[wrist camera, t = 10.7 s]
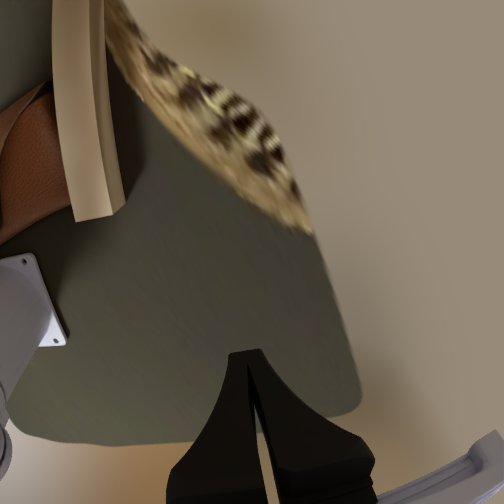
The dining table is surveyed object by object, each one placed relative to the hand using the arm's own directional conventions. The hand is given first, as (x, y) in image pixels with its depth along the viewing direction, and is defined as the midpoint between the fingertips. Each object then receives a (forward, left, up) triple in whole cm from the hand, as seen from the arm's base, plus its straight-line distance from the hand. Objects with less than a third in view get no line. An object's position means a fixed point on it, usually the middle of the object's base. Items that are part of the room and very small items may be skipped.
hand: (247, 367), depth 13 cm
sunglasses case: (-17, +9, -10) cm, 22 cm away
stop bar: (-7, +15, -9) cm, 19 cm away
